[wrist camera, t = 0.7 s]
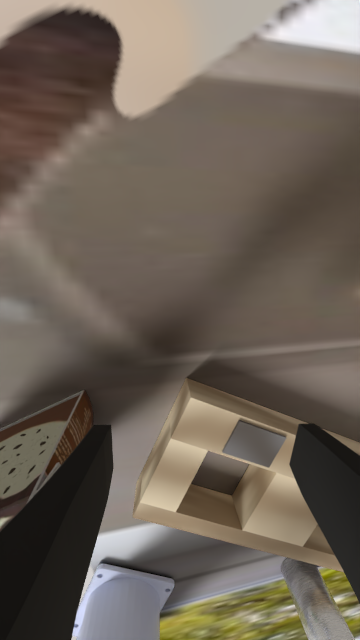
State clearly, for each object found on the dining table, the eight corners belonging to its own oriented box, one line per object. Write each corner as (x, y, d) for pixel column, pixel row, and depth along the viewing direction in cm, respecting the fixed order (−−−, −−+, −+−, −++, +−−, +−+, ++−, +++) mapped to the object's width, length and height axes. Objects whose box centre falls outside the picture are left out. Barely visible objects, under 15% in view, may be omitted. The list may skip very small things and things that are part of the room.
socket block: (349, 543, 25) (376, 582, 22) (136, 482, 21) (132, 520, 18) (408, 460, 23) (446, 490, 20) (186, 377, 19) (191, 399, 16)
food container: (8, 498, 20) (-130, 709, 11) (-36, 445, 19) (-243, 631, 9) (136, 440, 20) (113, 601, 10) (101, 381, 19) (36, 505, 9)
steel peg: (302, 581, 26) (354, 694, 19) (275, 574, 25) (317, 689, 18) (319, 557, 25) (378, 665, 18) (291, 549, 24) (341, 658, 18)
